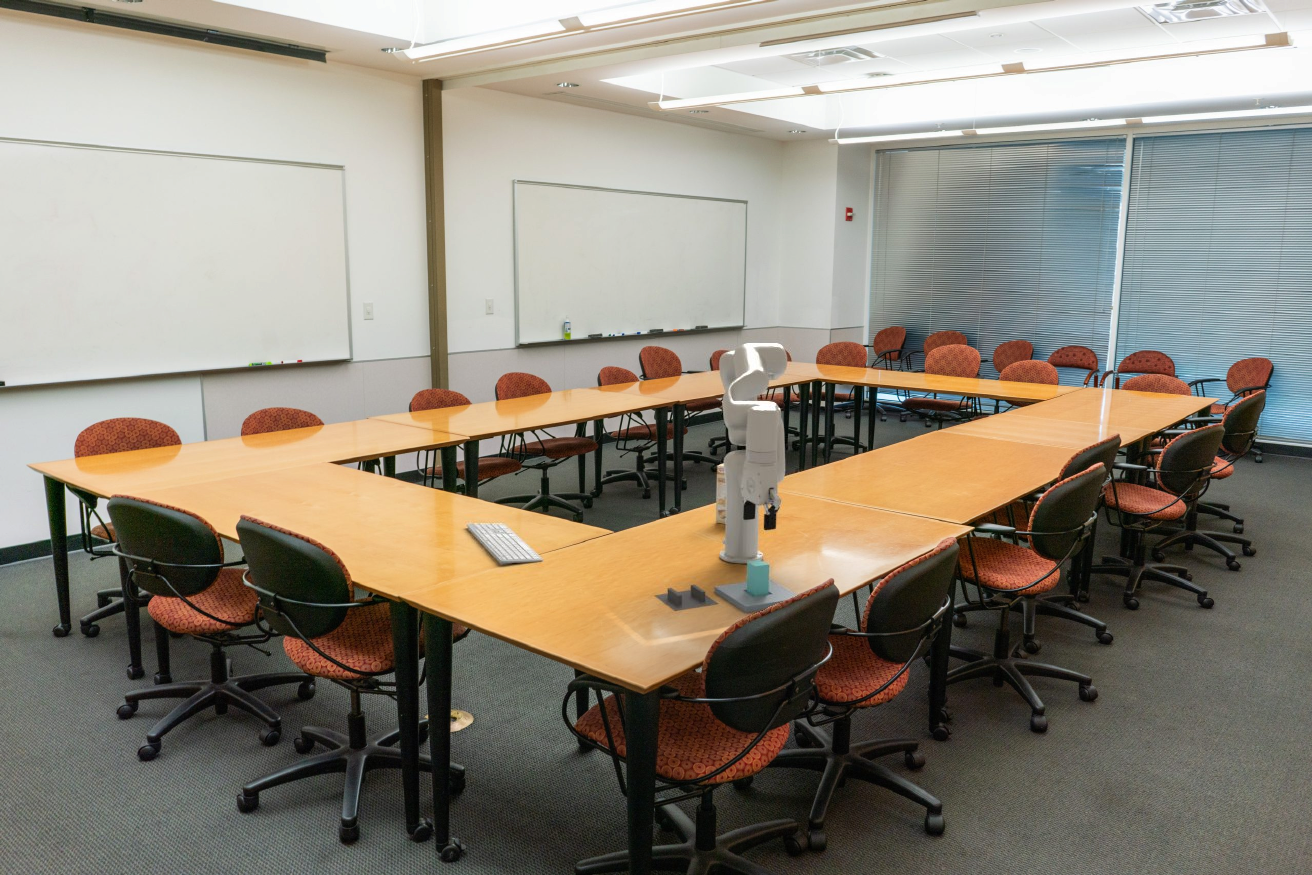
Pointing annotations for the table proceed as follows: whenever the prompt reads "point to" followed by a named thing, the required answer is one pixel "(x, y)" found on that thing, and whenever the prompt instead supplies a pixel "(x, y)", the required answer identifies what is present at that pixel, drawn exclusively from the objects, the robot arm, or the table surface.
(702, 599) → the dark grey holder stand
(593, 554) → the table surface
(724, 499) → the coffeecake box
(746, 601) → the plate
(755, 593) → the plug
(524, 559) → the keyboard
